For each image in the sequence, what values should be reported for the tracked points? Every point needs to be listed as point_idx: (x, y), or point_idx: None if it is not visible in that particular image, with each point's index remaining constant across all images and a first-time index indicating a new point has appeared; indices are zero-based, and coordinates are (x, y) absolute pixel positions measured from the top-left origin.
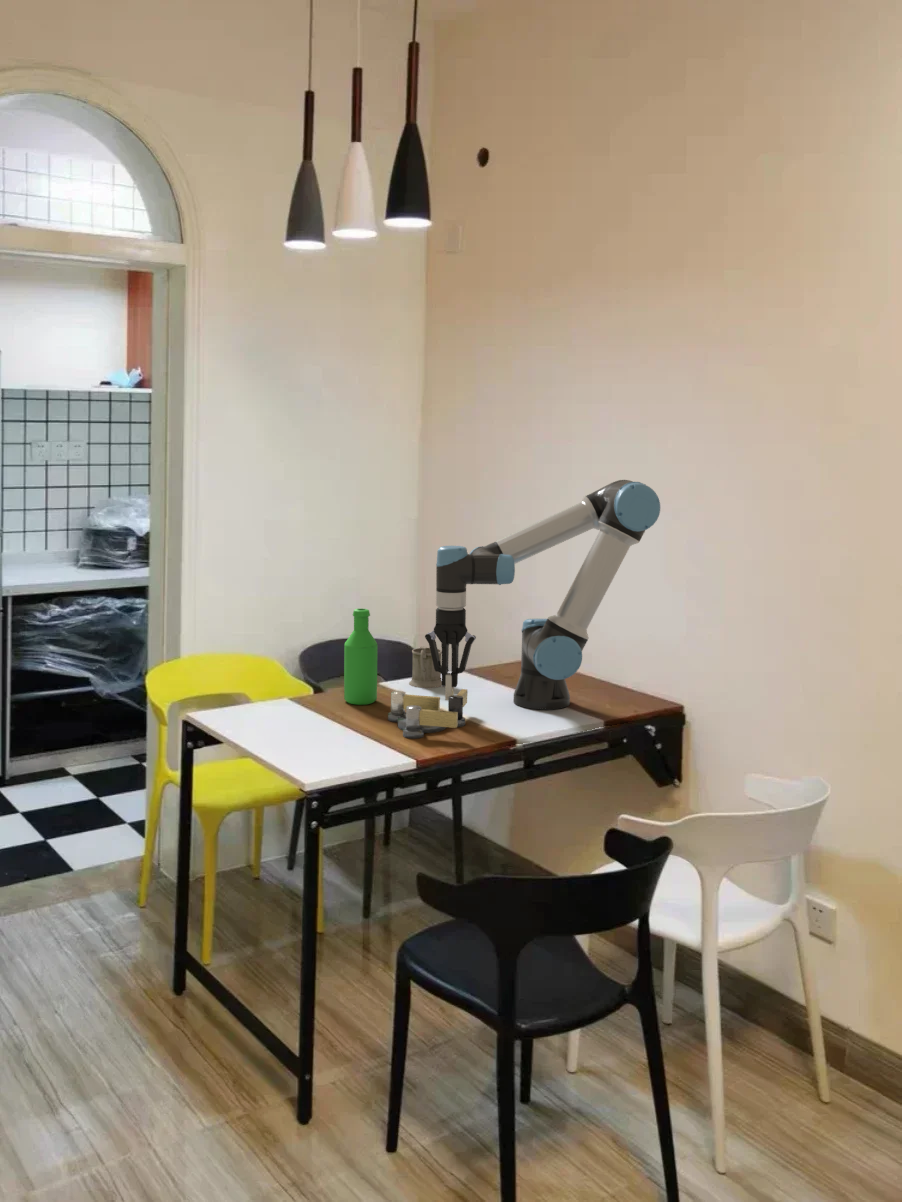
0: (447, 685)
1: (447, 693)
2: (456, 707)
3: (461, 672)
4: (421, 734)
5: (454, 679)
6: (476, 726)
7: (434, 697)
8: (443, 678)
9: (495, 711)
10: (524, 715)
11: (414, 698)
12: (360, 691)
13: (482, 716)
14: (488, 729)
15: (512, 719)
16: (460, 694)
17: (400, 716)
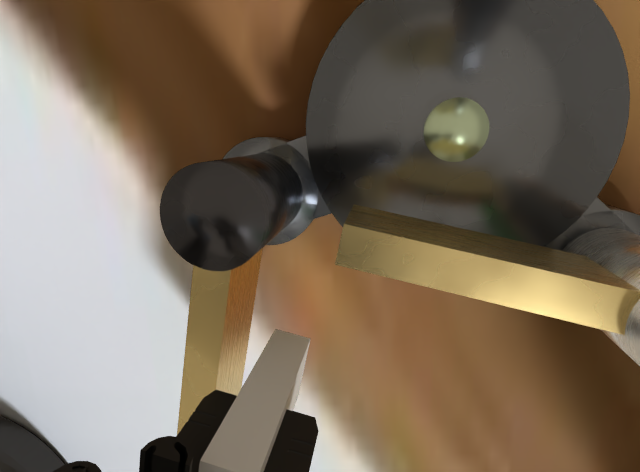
0: (270, 399)
1: (286, 359)
2: (227, 158)
3: (75, 464)
4: None
5: (194, 438)
6: (174, 163)
7: (377, 248)
8: (291, 470)
9: (130, 397)
10: (22, 343)
11: (540, 263)
12: None
13: (169, 327)
14: (117, 116)
15: (51, 287)
16: (200, 338)
17: (603, 166)
